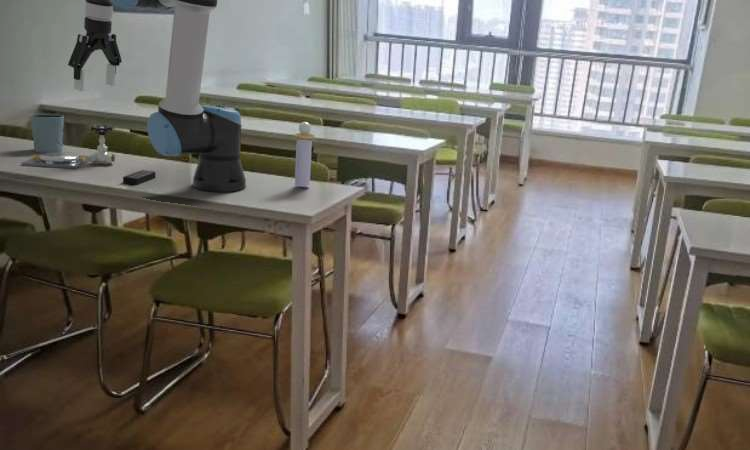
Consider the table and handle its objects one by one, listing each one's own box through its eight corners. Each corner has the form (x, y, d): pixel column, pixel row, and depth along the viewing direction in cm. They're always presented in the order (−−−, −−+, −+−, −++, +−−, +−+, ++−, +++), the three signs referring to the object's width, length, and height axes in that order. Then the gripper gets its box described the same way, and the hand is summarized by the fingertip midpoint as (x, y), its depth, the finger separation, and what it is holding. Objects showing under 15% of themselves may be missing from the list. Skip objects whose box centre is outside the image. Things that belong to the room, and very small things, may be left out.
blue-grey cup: (25, 150, 218) (22, 114, 215) (48, 146, 228) (45, 112, 224) (50, 154, 216) (48, 118, 212) (72, 150, 225) (70, 115, 222)
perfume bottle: (303, 190, 195) (306, 123, 190) (288, 187, 198) (291, 121, 193) (315, 187, 200) (318, 122, 194) (300, 184, 203) (304, 120, 197)
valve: (109, 167, 205) (107, 129, 202) (88, 165, 205) (86, 127, 202) (117, 163, 211) (116, 126, 208) (97, 161, 211) (95, 124, 208)
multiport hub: (122, 184, 187) (122, 176, 186) (142, 177, 197) (142, 169, 196) (136, 186, 186) (136, 178, 185) (156, 178, 196) (156, 171, 196)
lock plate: (76, 168, 199) (75, 162, 199) (21, 165, 198) (21, 158, 197) (94, 158, 214) (94, 152, 214) (44, 155, 213) (43, 149, 213)
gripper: (116, 14, 208) (112, 79, 216) (56, 15, 185) (54, 88, 193) (136, 20, 206) (131, 86, 214) (77, 22, 183) (74, 95, 192)
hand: (94, 87), depth 204 cm, fingers open, 13 cm apart
